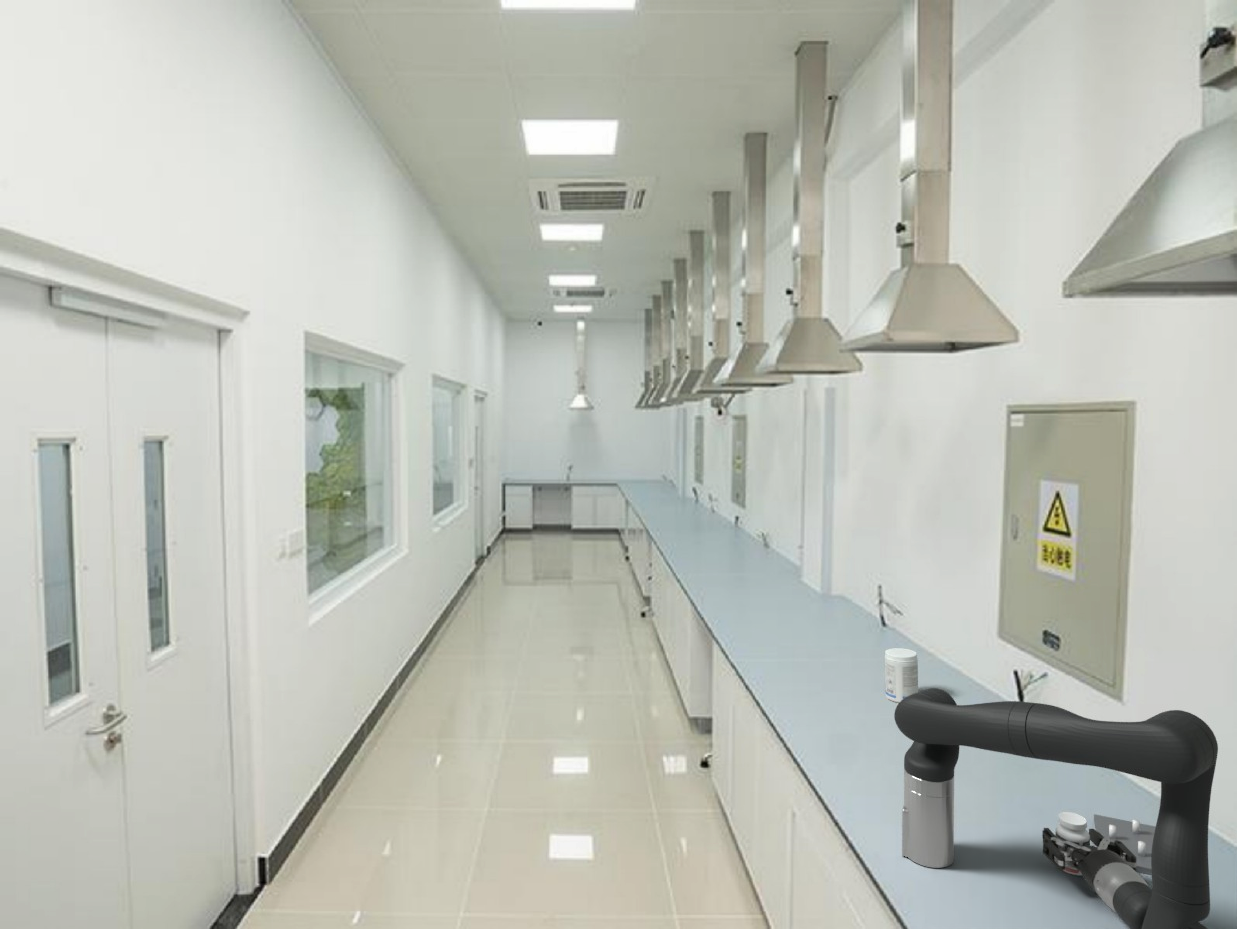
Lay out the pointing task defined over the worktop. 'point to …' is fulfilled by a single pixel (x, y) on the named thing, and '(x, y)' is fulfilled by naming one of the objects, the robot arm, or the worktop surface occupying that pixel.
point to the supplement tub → (900, 673)
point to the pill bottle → (1072, 834)
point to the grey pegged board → (1129, 838)
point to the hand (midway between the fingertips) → (1067, 832)
